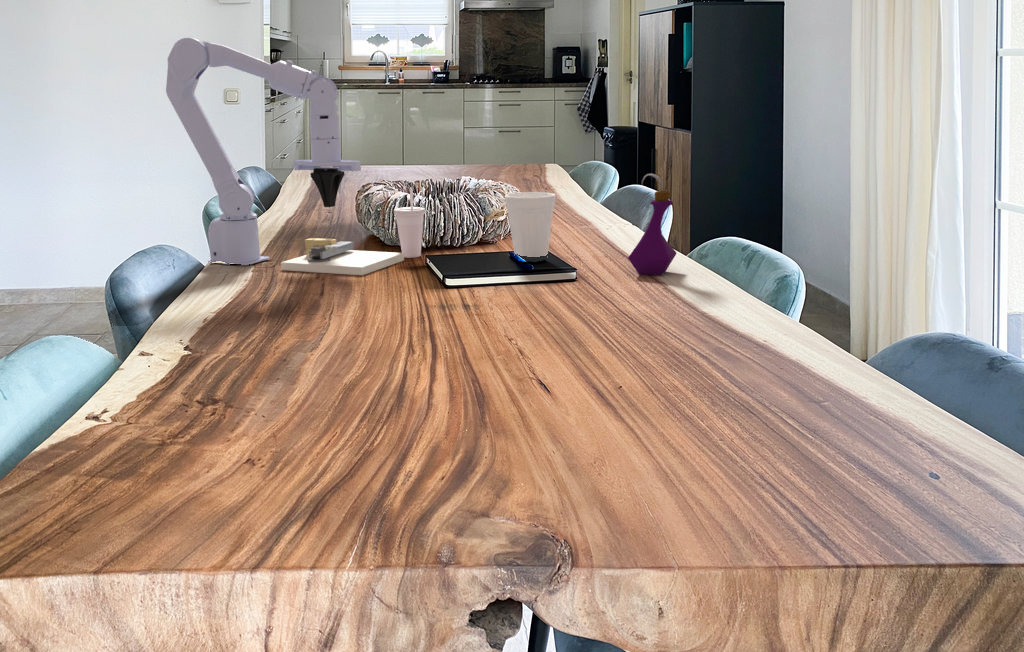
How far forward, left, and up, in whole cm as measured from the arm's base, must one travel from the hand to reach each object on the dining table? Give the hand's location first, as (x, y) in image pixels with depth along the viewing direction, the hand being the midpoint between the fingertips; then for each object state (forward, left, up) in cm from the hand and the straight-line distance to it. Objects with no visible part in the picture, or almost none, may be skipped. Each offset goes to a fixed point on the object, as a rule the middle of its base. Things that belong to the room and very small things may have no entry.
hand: (329, 206), depth 204 cm
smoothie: (+15, +6, -11) cm, 19 cm away
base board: (+7, -7, -10) cm, 14 cm away
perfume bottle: (+67, +3, -11) cm, 67 cm away
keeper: (+2, -7, -9) cm, 11 cm away
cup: (+41, +7, -11) cm, 43 cm away
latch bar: (+4, -6, -8) cm, 11 cm away
